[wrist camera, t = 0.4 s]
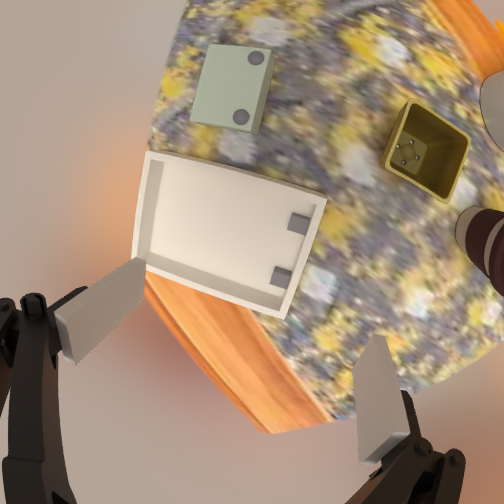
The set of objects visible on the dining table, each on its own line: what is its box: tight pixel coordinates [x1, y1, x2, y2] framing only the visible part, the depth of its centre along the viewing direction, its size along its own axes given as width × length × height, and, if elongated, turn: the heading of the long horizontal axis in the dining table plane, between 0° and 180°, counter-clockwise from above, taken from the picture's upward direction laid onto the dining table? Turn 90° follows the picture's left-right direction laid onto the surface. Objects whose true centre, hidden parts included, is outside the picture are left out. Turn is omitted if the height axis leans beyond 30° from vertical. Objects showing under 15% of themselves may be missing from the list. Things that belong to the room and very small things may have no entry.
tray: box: [131, 150, 328, 320], centre depth 38 cm, size 17×24×5 cm
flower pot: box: [380, 98, 471, 204], centre depth 27 cm, size 9×9×9 cm
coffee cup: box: [456, 207, 504, 297], centre depth 25 cm, size 10×10×15 cm
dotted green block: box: [189, 44, 276, 135], centre depth 32 cm, size 11×8×5 cm
